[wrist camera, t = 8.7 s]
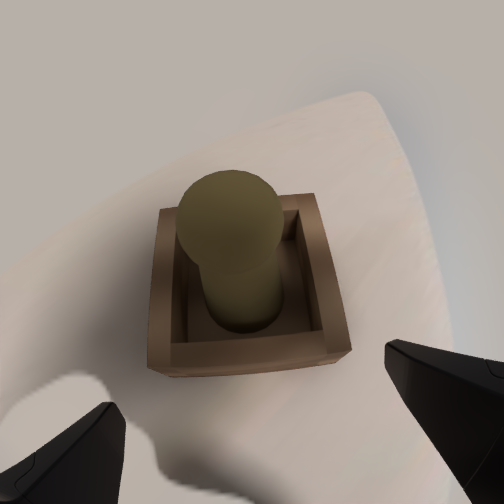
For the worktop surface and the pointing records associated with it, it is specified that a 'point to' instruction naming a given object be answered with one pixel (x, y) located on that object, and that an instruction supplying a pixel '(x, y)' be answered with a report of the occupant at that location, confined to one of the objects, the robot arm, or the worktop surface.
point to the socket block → (264, 341)
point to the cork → (234, 247)
